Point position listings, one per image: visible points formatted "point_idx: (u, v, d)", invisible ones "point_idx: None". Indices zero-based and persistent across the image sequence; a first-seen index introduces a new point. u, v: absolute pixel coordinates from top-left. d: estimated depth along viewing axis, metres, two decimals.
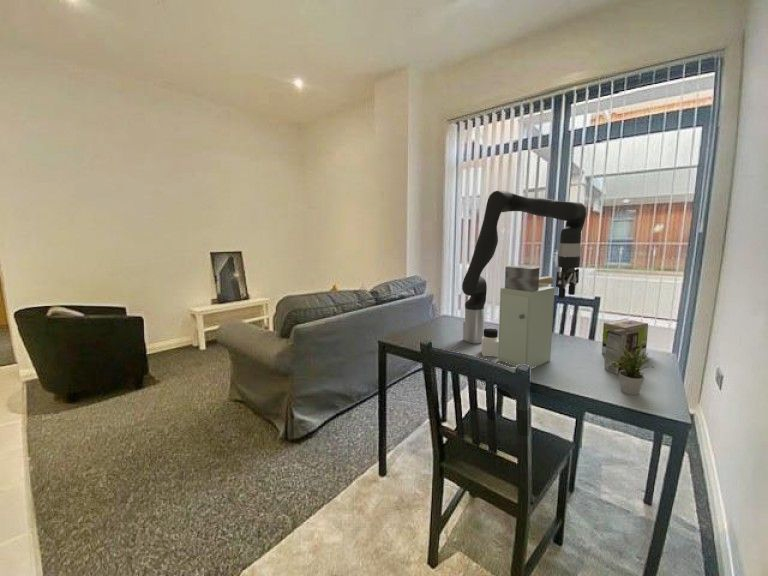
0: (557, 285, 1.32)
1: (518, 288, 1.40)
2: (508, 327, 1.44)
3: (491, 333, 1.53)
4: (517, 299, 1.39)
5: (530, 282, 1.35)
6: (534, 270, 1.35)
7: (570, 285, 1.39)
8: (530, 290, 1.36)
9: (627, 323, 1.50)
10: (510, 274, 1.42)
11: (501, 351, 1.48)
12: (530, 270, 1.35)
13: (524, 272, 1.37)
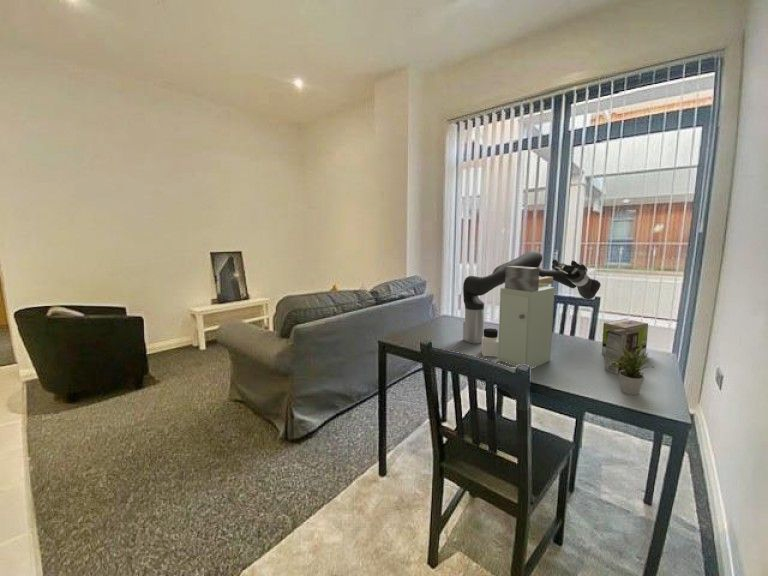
0: (583, 266, 1.55)
1: (518, 288, 1.40)
2: (508, 327, 1.44)
3: (491, 333, 1.53)
4: (517, 299, 1.39)
5: (530, 282, 1.35)
6: (534, 270, 1.35)
7: (558, 263, 1.64)
8: (530, 290, 1.36)
9: (627, 323, 1.50)
10: (510, 274, 1.42)
11: (501, 351, 1.48)
12: (530, 270, 1.35)
13: (524, 272, 1.37)
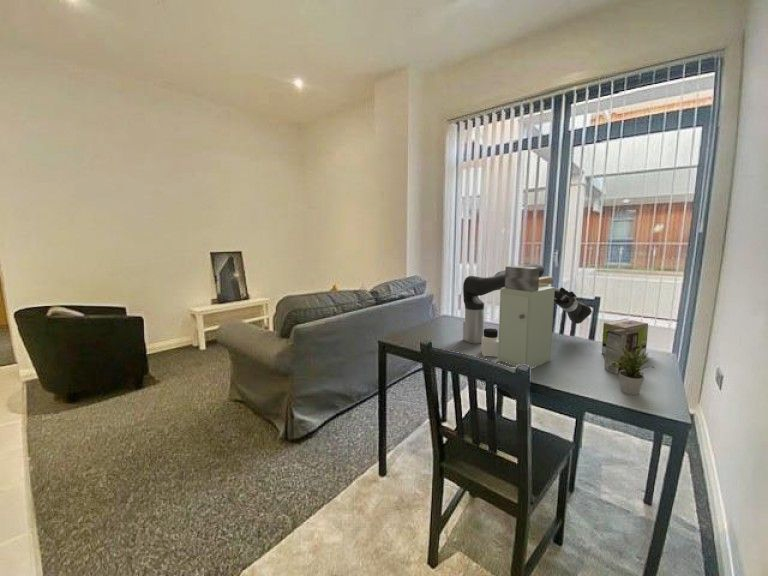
0: (572, 293, 1.53)
1: (518, 288, 1.40)
2: (508, 327, 1.44)
3: (491, 333, 1.53)
4: (517, 299, 1.39)
5: (530, 282, 1.35)
6: (534, 270, 1.35)
7: None
8: (530, 290, 1.36)
9: (627, 323, 1.50)
10: (510, 274, 1.42)
11: (501, 351, 1.48)
12: (530, 270, 1.35)
13: (524, 272, 1.37)
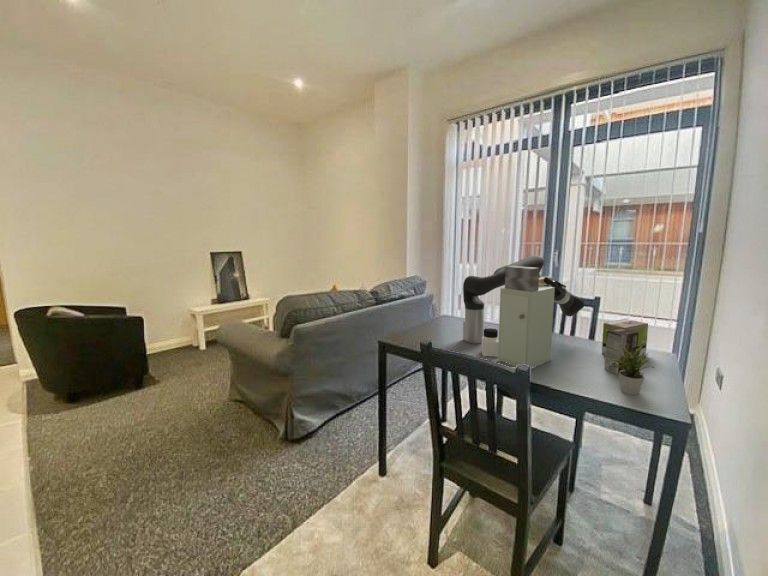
0: (556, 282, 1.49)
1: (518, 288, 1.40)
2: (508, 327, 1.44)
3: (491, 333, 1.53)
4: (517, 299, 1.39)
5: (530, 282, 1.35)
6: (534, 270, 1.35)
7: None
8: (530, 290, 1.36)
9: (627, 323, 1.50)
10: (510, 274, 1.42)
11: (501, 351, 1.48)
12: (530, 270, 1.35)
13: (524, 272, 1.37)
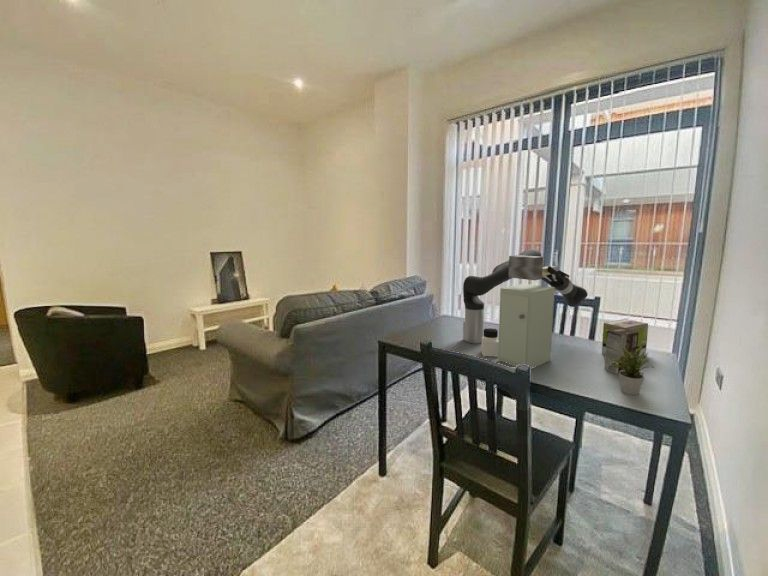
0: (559, 272, 1.49)
1: (522, 277, 1.40)
2: (508, 327, 1.44)
3: (491, 333, 1.53)
4: (517, 299, 1.39)
5: (533, 271, 1.36)
6: (538, 259, 1.35)
7: None
8: (534, 279, 1.36)
9: (627, 323, 1.50)
10: (513, 263, 1.43)
11: (501, 351, 1.48)
12: (534, 259, 1.35)
13: (528, 261, 1.37)
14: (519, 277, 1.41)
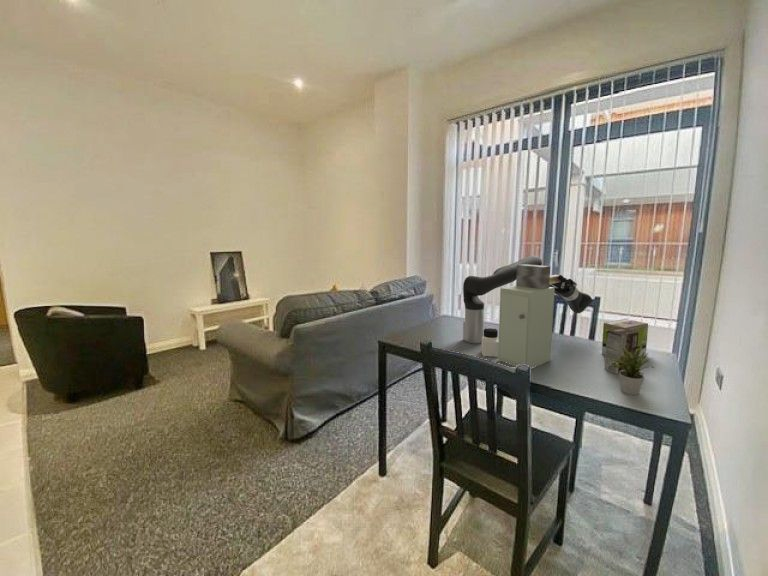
0: (570, 280, 1.52)
1: (529, 286, 1.45)
2: (508, 327, 1.44)
3: (491, 333, 1.53)
4: (517, 299, 1.39)
5: (541, 280, 1.40)
6: (545, 268, 1.40)
7: None
8: (541, 288, 1.40)
9: (627, 323, 1.50)
10: (521, 272, 1.47)
11: (501, 351, 1.48)
12: (541, 268, 1.39)
13: (536, 270, 1.41)
14: (527, 286, 1.46)
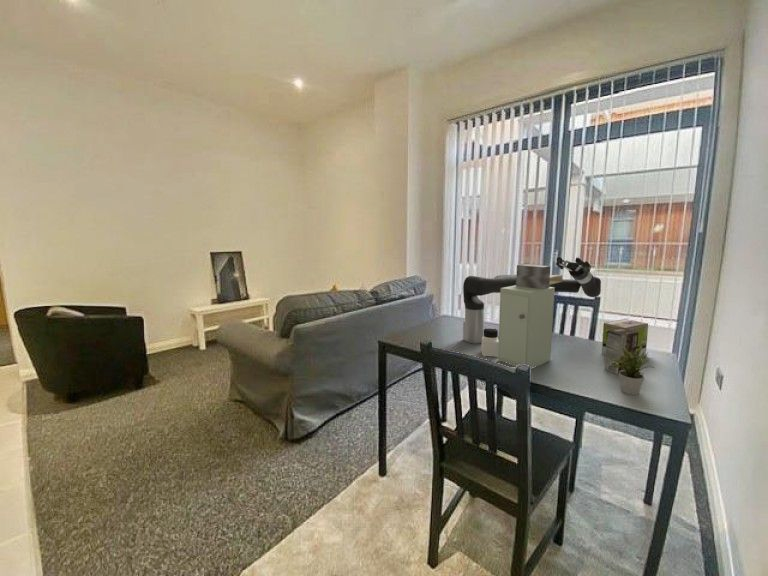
0: (587, 263, 1.58)
1: (529, 286, 1.45)
2: (508, 327, 1.44)
3: (491, 333, 1.53)
4: (517, 299, 1.39)
5: (541, 280, 1.40)
6: (545, 268, 1.40)
7: (562, 260, 1.66)
8: (541, 288, 1.40)
9: (627, 323, 1.50)
10: (521, 272, 1.47)
11: (501, 351, 1.48)
12: (541, 268, 1.39)
13: (536, 270, 1.41)
14: (527, 286, 1.46)
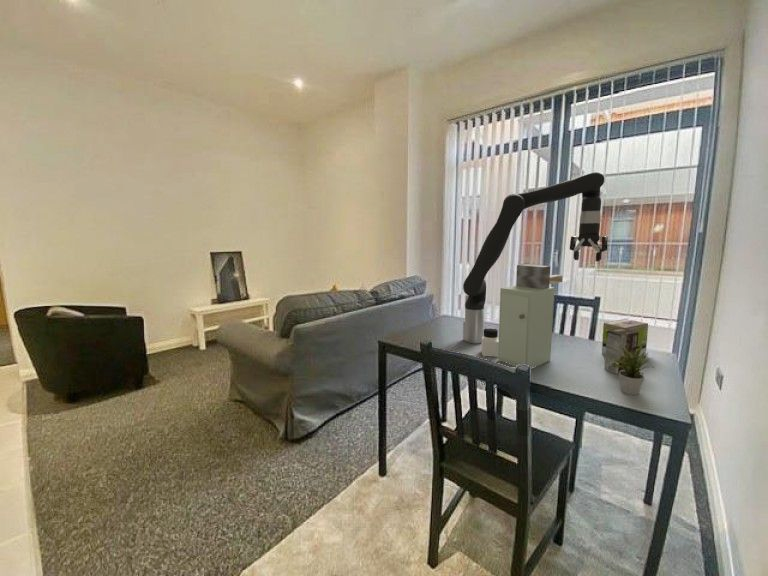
0: (605, 249, 1.42)
1: (529, 286, 1.45)
2: (508, 327, 1.44)
3: (491, 333, 1.53)
4: (517, 299, 1.39)
5: (541, 280, 1.40)
6: (545, 268, 1.40)
7: (577, 251, 1.51)
8: (541, 288, 1.40)
9: (627, 323, 1.50)
10: (521, 272, 1.47)
11: (501, 351, 1.48)
12: (541, 268, 1.39)
13: (536, 270, 1.41)
14: (527, 286, 1.46)
